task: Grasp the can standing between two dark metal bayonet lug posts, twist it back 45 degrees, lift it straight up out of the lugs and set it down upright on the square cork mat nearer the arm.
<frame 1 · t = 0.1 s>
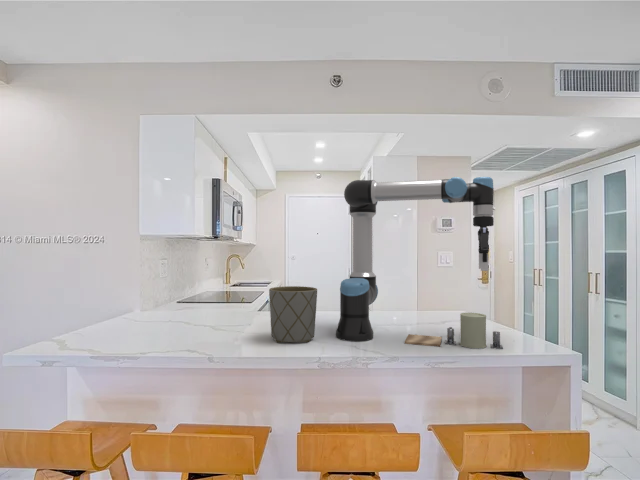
hand: (483, 269, 153), 28 cm above the table, fingers open, 13 cm apart
planter: (292, 339, 153), on the table
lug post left: (450, 343, 148), on the table
cork mat: (423, 341, 151), on the table
can: (473, 346, 145), on the table
lug post right: (496, 347, 142), on the table
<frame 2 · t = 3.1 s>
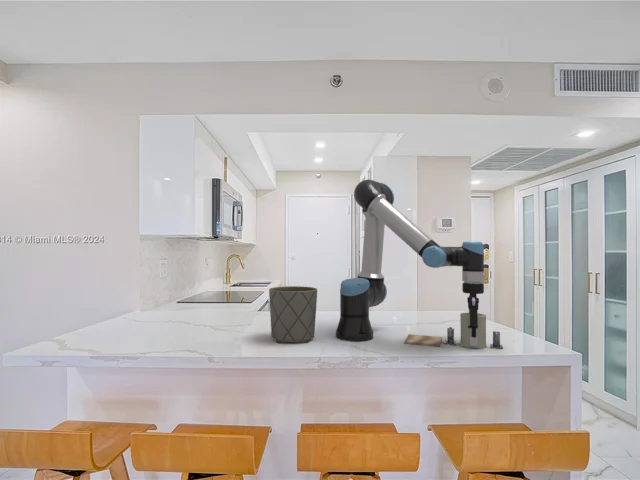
hand: (473, 342, 145), 1 cm above the table, fingers closed on can, 9 cm apart
can: (473, 345, 145), on the table, touching gripper
everything else where it was.
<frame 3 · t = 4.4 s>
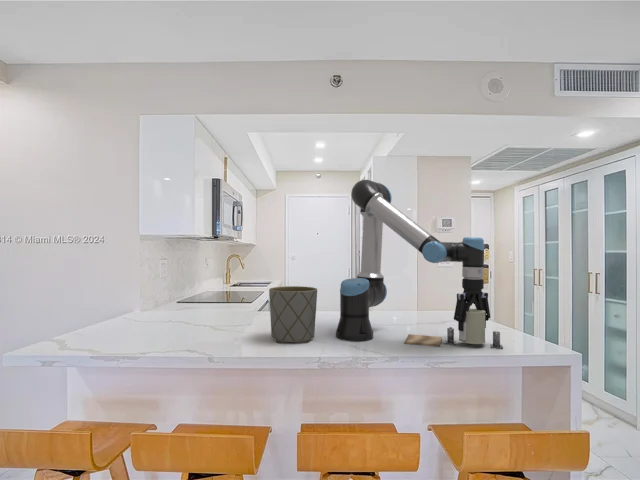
hand: (472, 338, 145), 3 cm above the table, fingers closed on can, 9 cm apart
can: (472, 341, 145), point 1 cm above the table, touching gripper
everything else where it was.
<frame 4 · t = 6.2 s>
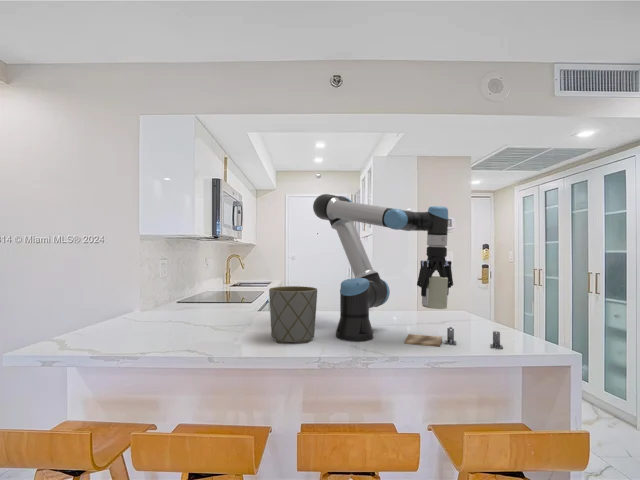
hand: (434, 304, 150), 14 cm above the table, fingers closed on can, 9 cm apart
can: (434, 307, 150), point 13 cm above the table, touching gripper
everything else where it was.
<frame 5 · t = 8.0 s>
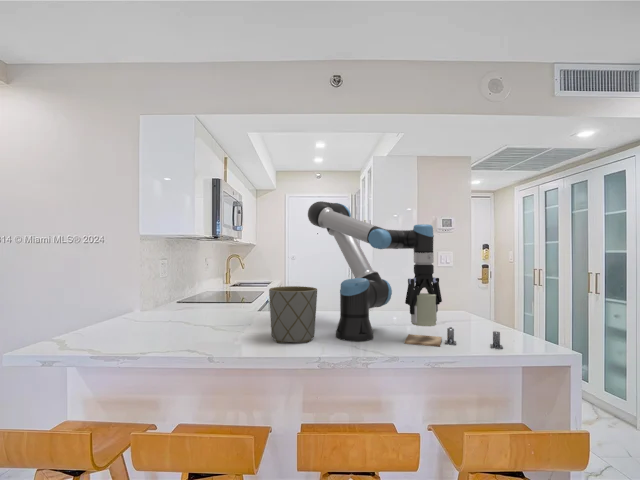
hand: (423, 321, 151), 8 cm above the table, fingers closed on can, 9 cm apart
can: (424, 324, 151), point 6 cm above the table, touching gripper
everything else where it was.
when the fingers open (3 cm above the table, at t = 9.4 s): can drops 1 cm, resting on cork mat.
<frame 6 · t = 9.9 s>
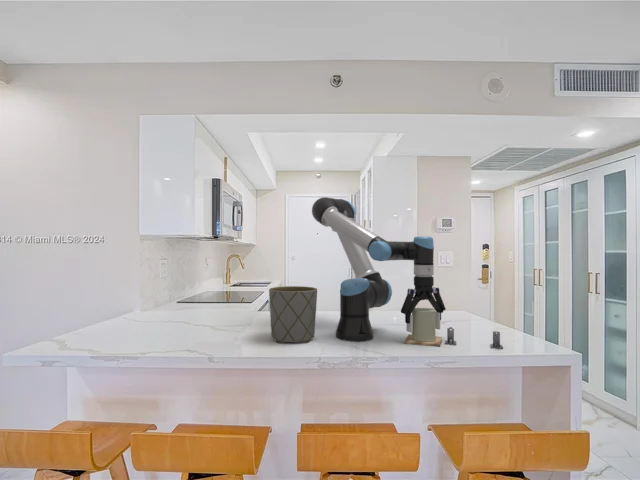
hand: (423, 330, 151), 4 cm above the table, fingers open, 13 cm apart
can: (423, 339, 151), point 1 cm above the table, touching cork mat
everything else where it was.
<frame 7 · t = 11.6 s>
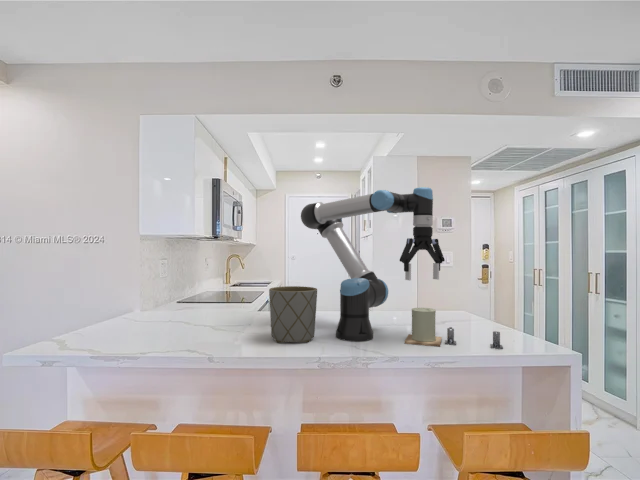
hand: (422, 279, 154), 24 cm above the table, fingers open, 13 cm apart
nothing on the table moved.
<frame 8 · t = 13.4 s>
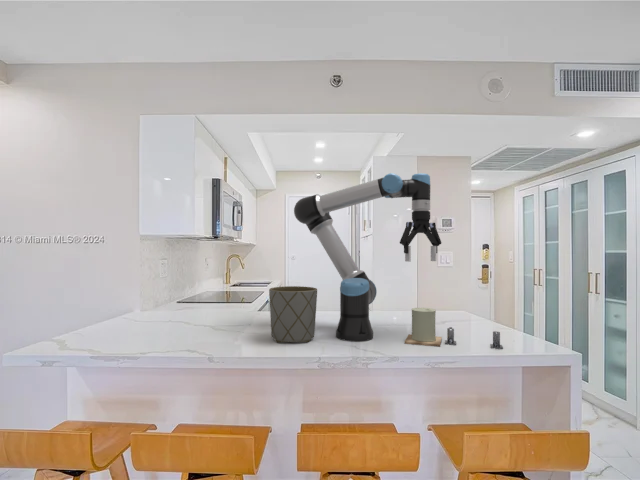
hand: (420, 261, 162), 31 cm above the table, fingers open, 13 cm apart
nothing on the table moved.
at the end: can inside the target area on the cork mat (0.0 cm from its centre), point 0.6 cm above the cork mat's base; can tilted 0°; the gripper is holding nothing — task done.
